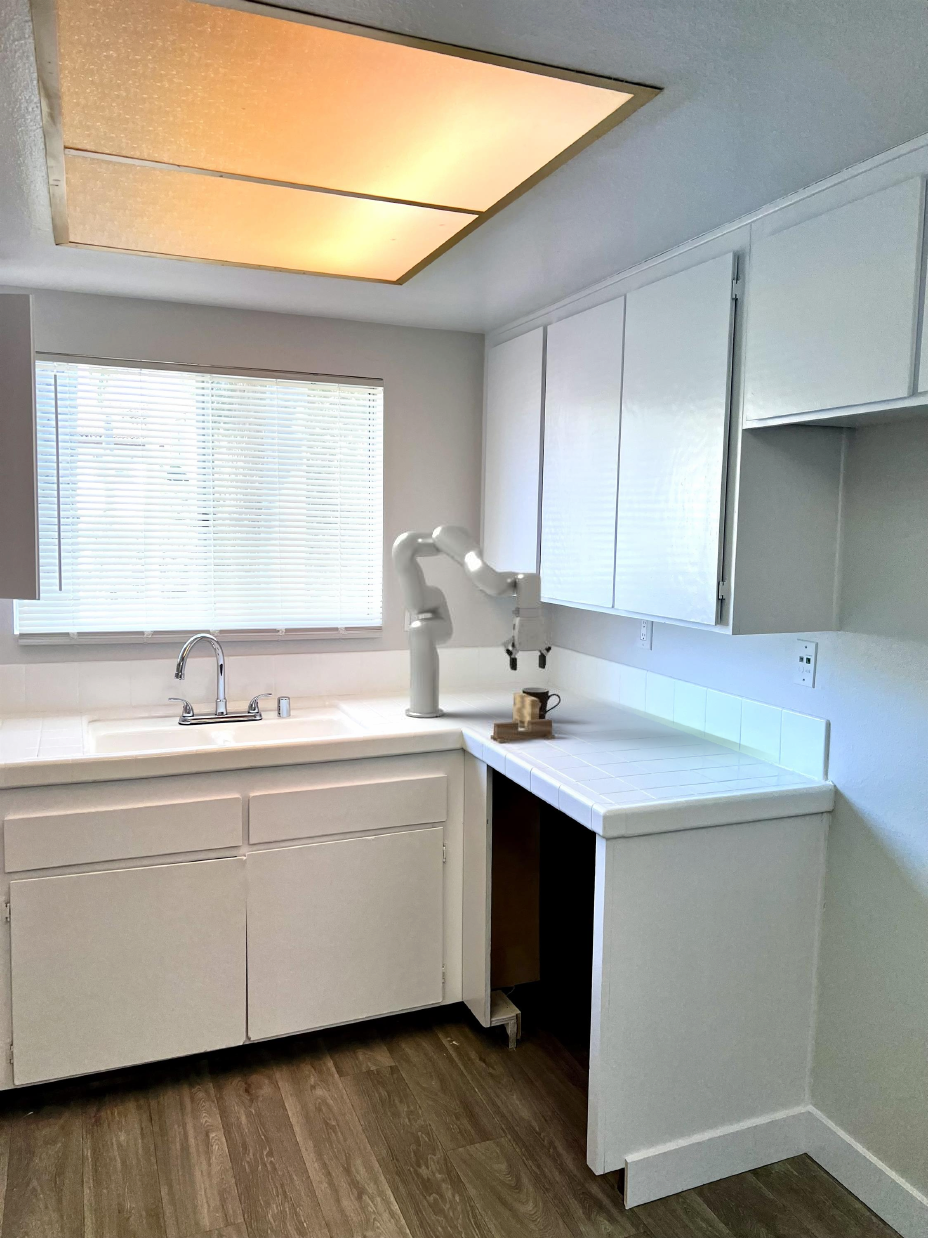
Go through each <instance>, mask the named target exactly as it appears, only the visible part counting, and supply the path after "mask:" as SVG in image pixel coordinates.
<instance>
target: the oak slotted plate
mask: <svg viewBox="0 0 928 1238" xmlns="http://www.w3.org/2000/svg"><path fill="white" fill-rule="evenodd" d="M512 708H513V712H512V713H513V715H512V717H513V718H512V722H514V721H516V722H518V723H519V728H524V730H527V722H528V720H539V699H537V698H534V697H532V696H529V695H526V694H524V693H522V692H514V693H513V707H512Z"/></svg>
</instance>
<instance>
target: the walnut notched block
mask: <svg viewBox="0 0 928 1238" xmlns="http://www.w3.org/2000/svg"><path fill="white" fill-rule="evenodd" d="M519 728H520V727H519V723H518V722H516V721H514V722H513V721H503V722H502V721H501V722H493V733H492V735H491V734H490V740H492V739H493V740H492V741H494V742H496V743H498V744H506V742H508V740H510V741H519V740H533V739H543V738H544V739H548V740H550V739H555V738H556V735H555V734H554V733H553V720H552V719H550V718H545V719H539V720H528V722H527V730H525V729H521V730H519Z"/></svg>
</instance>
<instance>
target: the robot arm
mask: <svg viewBox="0 0 928 1238" xmlns="http://www.w3.org/2000/svg"><path fill="white" fill-rule="evenodd" d="M483 552H484V551H483V548H482V547H481V546H480V545H478V544H477V543H476V542H475V541H473V540H472V536H471V533H470V531H469V530H468V528H466V527H465V526H464V525H462V524H441V525H439V526H438V527H436V528H435V530H410V531H406V532H404V533H402V534H400V535H399V536H397V538H396V540H394V543H393V545H392V549H391V560H392V563H393V566H394V569H395V572H396V576H397V580H398V583H399V584H398V585H399V588H400V593H401V596H402V600H403V604H404V607H405V610H406V611H407V613H409V614H411V615H414V616H419V615H420V616H421V615H422V616H424V617H422V618H418V619H416V620H414V621H413V622H412V623H411V624H410V625H409V627H408V629H407V641H408V647H409V658H410V659H409V660H410V661H409V664H410V665H409V670H410V673H409V676H410V680H409V681H410V683H409V691H410V692H409V707H408V708H406V709H405V712H404V714H405V715H406V716H409V717H414V718H436V716H437V717H440V716H442V715H444V710H443V709H442V708H440V657H439V652H438V649H437V646H440V645H444V644H447V643H448V642H449V641H450V640H451V639H452V637H453V634H454V625H453V621H452V619H451V615H450V610H449V607H448V602H447V598H446V596H445V594H444V592H443V590H442V589H440V588H439V587H438V586H436V585H434V584H427V582H426V578H425V573H424V571H423V568H422V566H421V564H419V563H420V562H418V560H417V559H418V558H430V557H431V558H432V557H436V556H437V557H438V556H443V555H446V556H448V557H449V558H450V559H452V561H454V562H455V563H457V564H458V565H459V566H460V567H462V568H463V570H464V571H465V573H466V576H467V577H468V579H470V581H471V582H472V583H473V584H474V585H475V586H477V587H478V588H479V589H481V590H483V591H484V592H485V593H486V594H487V595H490V597H491V596H492V597H495V598H501V597H510V596H515V609H514V610H512V611H511V613H512V615H514V616H515V617H514V618H513V622H512V627H511V635H510V636H511V637H509V638H508V639H506V640H504V641H503V642H502V643H501V647H502V648H503V650H504V653H505V654H506V655H507V656H508V657H509V668H510V671H514V672H515V671H518V657H516V656H517V655H518V654H519V652H535V651H536V652H538V653H539V655H538V668H539V669H542V670H545V669H546V666H547V656H548V655H549V653H550V652H551V651H552V648H553V646H554V643H555V641H554V640H553V639H550V638H549V637H548V636H547V635H546V634H547V633H546V626H545V620H544V617H542V616H541V615H542V614H541V613H542V611H541V609H542V604H541V603H542V577H541V574H540V573H538V572H517V571H511V570H509V571H497V570H496V569H495V568H493V567H491V565H489V564H488V563H487V562H486V561H485V560H483V558H482V557H483ZM509 646H510V647H511V649H510V647H509Z"/></svg>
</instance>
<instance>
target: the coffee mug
mask: <svg viewBox="0 0 928 1238" xmlns="http://www.w3.org/2000/svg"><path fill="white" fill-rule="evenodd" d="M521 690H522V692H521V693H524V694H526V695H529V696H532V697H534V698H537V699H539V719H546V717H547V713H548V712H550V711H552V710H554V709H556V708H557V707H558V706H559V705H560V703H561V701H562V698H561V696H560V695H559V694H558V693H551V694H550V689H549V688H545V687H539V686H538V687H536V686H535V687H534V686H533V687H523V688H522V689H521ZM553 696H555V697H557V698H558V702H557V703H556V704H555V705H553V706H552V707H551V708H548V703H549V702H548V701H550V698H552V697H553Z"/></svg>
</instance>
